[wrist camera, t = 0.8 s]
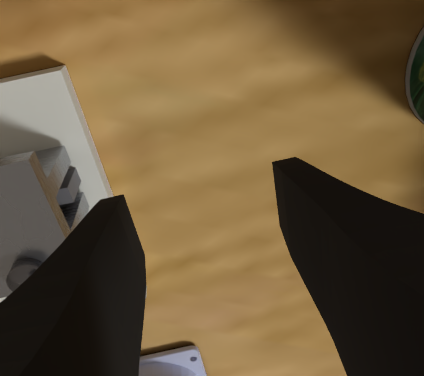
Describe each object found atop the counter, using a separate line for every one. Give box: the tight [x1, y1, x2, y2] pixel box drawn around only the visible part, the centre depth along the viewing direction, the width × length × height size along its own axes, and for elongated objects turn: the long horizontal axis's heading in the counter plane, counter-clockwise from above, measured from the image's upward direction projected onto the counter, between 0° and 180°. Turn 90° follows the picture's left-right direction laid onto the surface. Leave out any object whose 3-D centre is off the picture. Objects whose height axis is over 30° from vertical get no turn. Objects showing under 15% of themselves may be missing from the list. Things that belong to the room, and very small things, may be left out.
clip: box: [0, 145, 89, 298], centre depth 18 cm, size 6×4×5 cm, turn 11°
